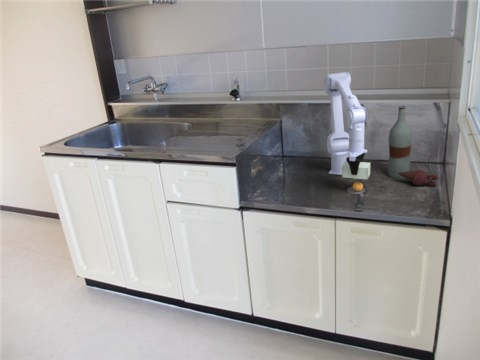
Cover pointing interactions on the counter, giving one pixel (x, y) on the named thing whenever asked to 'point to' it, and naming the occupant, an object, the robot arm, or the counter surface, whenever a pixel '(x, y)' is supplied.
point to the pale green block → (362, 171)
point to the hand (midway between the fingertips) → (356, 171)
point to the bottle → (399, 146)
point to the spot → (355, 191)
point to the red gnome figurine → (419, 177)
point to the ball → (357, 186)
